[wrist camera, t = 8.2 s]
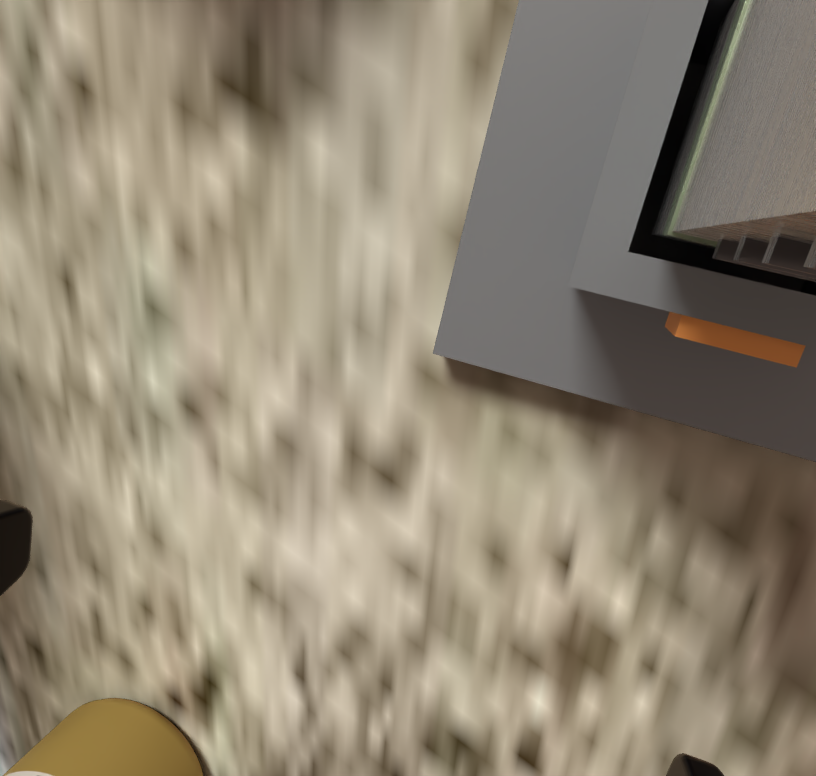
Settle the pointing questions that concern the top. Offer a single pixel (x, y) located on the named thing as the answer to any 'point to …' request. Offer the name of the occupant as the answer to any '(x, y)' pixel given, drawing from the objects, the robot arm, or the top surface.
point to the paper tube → (111, 744)
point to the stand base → (619, 236)
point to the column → (752, 144)
